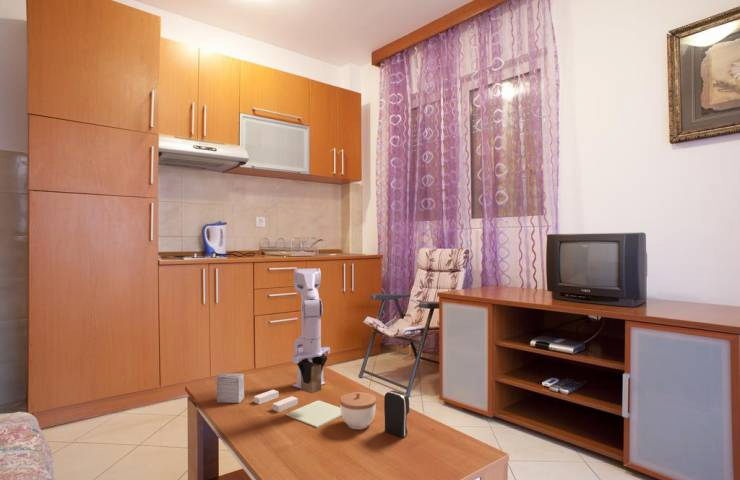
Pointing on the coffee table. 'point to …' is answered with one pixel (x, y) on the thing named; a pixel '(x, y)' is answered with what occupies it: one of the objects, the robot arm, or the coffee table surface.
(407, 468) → the coffee table surface
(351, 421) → the lidded jar
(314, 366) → the walnut block
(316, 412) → the mat
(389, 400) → the battery charger
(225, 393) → the medicine box
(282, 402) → the slot blocks
